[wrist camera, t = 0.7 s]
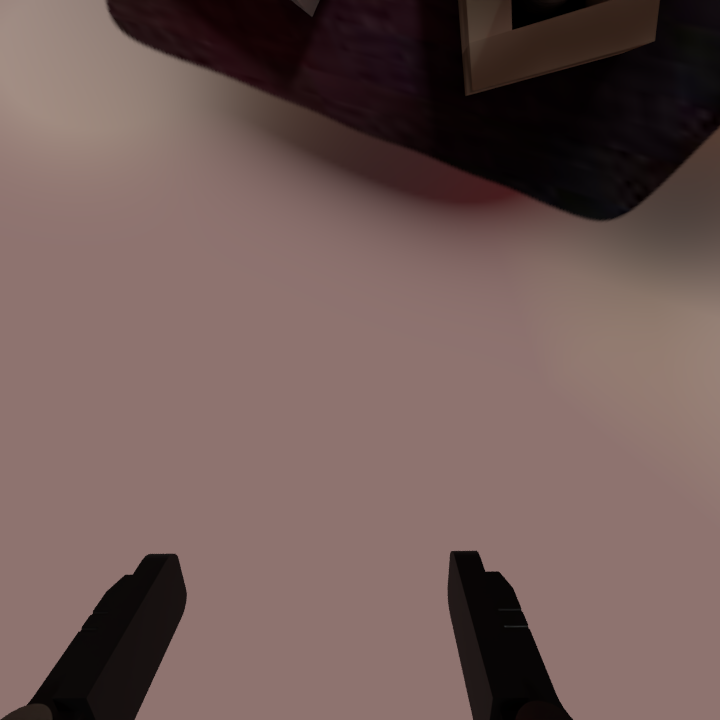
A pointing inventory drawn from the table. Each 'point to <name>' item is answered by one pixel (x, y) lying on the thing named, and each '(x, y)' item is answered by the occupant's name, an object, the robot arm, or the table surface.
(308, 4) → the tray
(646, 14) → the housing
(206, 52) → the table surface
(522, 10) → the glass jar with cork
